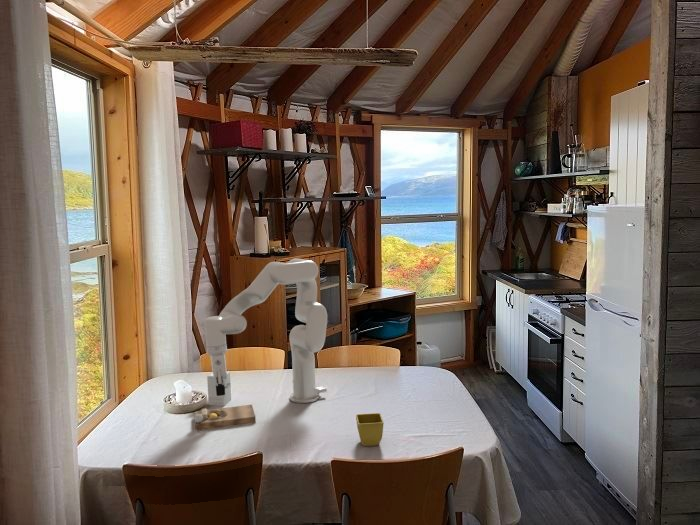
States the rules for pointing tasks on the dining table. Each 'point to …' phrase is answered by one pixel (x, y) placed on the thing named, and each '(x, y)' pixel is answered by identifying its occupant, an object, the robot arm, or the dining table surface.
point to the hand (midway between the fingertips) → (220, 394)
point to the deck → (226, 417)
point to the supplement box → (212, 394)
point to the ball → (213, 415)
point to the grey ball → (198, 418)
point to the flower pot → (370, 428)
